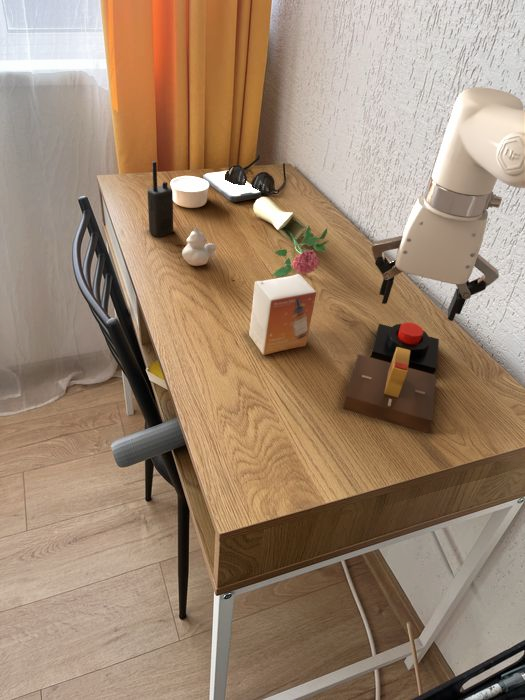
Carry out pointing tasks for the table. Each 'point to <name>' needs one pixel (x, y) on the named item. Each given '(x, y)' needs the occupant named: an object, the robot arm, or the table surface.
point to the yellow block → (397, 372)
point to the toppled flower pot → (291, 236)
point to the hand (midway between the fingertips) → (417, 307)
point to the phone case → (231, 187)
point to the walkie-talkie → (160, 207)
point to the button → (410, 333)
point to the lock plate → (405, 409)
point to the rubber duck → (198, 249)
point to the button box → (420, 354)
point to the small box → (281, 313)
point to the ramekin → (189, 191)
